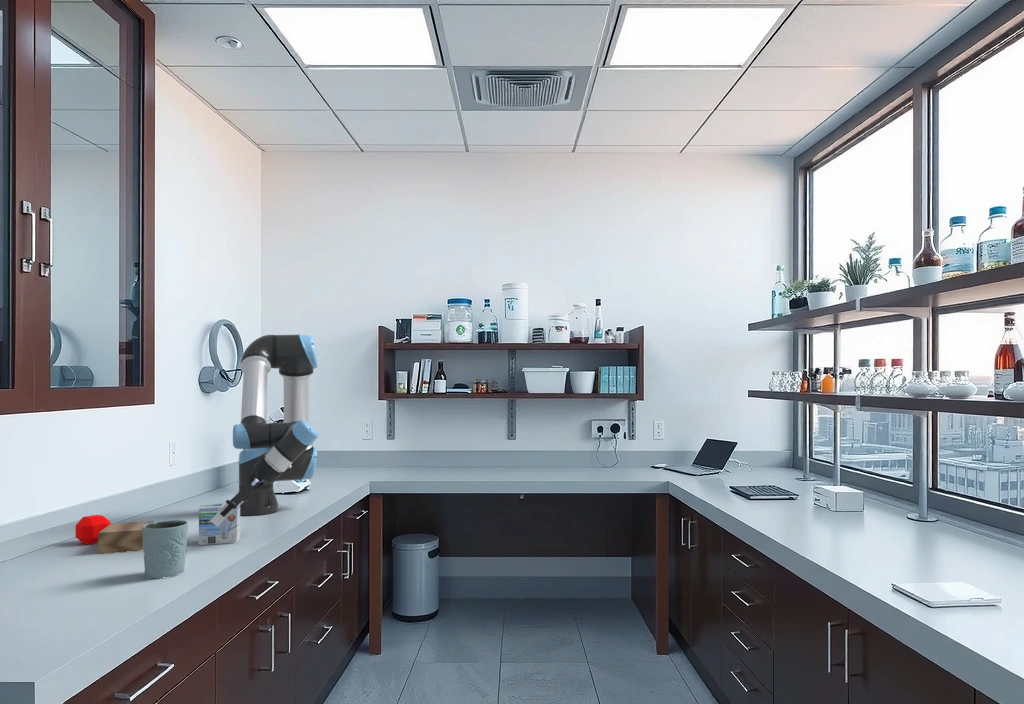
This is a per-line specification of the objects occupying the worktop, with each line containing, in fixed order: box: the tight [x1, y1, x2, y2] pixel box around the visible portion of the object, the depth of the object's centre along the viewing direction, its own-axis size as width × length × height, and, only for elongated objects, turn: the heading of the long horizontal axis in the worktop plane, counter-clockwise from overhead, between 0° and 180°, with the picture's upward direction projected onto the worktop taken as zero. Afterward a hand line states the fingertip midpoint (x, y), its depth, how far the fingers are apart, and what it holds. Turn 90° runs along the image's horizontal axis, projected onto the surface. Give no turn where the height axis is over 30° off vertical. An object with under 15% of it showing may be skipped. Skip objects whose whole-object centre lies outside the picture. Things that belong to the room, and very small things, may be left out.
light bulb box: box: [198, 502, 241, 546], centre depth 208 cm, size 11×7×11 cm, turn 105°
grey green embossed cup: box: [142, 519, 189, 579], centre depth 172 cm, size 10×10×12 cm
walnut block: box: [97, 520, 154, 555], centre depth 203 cm, size 11×14×6 cm
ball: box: [74, 514, 112, 545], centre depth 210 cm, size 8×8×8 cm
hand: (219, 519), depth 207 cm, fingers open, 13 cm apart
